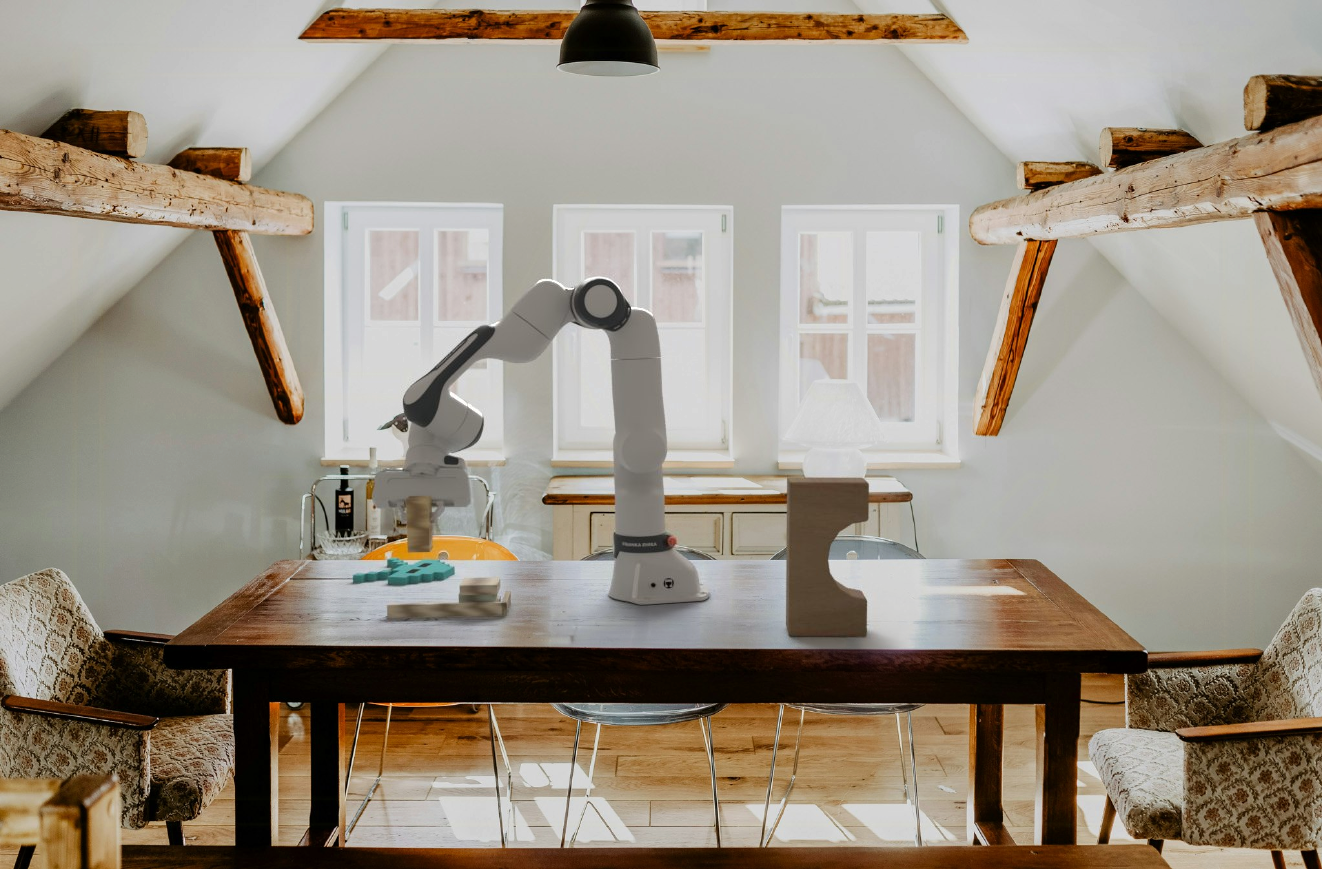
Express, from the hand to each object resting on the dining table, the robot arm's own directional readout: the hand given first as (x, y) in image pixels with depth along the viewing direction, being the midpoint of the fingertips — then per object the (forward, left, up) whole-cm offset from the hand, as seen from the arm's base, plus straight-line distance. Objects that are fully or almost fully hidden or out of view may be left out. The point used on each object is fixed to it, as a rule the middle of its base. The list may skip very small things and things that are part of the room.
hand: (419, 522), depth 214 cm
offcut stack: (-12, -1, -19) cm, 22 cm away
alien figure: (+9, -40, -21) cm, 46 cm away
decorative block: (-81, +16, -20) cm, 85 cm away
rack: (-6, -1, -20) cm, 21 cm away
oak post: (0, -1, -6) cm, 6 cm away
